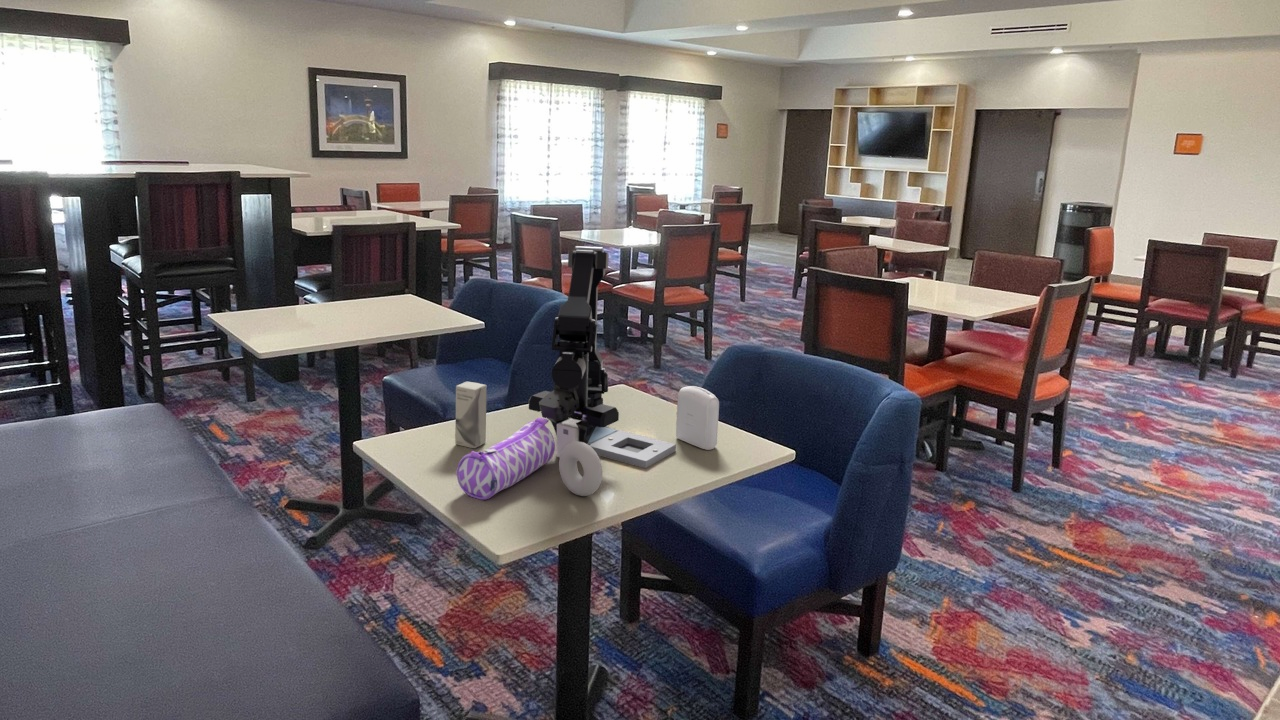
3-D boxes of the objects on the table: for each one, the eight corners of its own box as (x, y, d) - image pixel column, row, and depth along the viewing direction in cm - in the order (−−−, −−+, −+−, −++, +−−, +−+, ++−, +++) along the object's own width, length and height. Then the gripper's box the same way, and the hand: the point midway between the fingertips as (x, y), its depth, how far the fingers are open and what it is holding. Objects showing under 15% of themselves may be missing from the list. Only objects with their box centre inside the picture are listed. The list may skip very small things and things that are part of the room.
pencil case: (494, 508, 143) (493, 457, 141) (450, 497, 147) (449, 447, 145) (558, 466, 163) (559, 421, 161) (518, 457, 167) (518, 413, 164)
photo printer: (672, 437, 181) (675, 383, 178) (687, 434, 184) (690, 380, 181) (704, 452, 173) (708, 395, 170) (719, 448, 176) (723, 392, 173)
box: (454, 445, 171) (453, 385, 168) (466, 438, 175) (465, 380, 172) (476, 449, 170) (475, 389, 166) (487, 442, 174) (487, 384, 170)
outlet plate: (588, 452, 170) (588, 444, 170) (619, 436, 180) (620, 429, 180) (645, 468, 163) (646, 460, 163) (675, 451, 173) (676, 443, 173)
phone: (568, 441, 176) (568, 437, 176) (597, 428, 185) (597, 424, 185) (591, 447, 173) (591, 443, 173) (619, 433, 182) (620, 430, 182)
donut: (605, 500, 148) (607, 447, 145) (591, 505, 146) (593, 452, 143) (568, 483, 155) (569, 433, 152) (554, 488, 152) (555, 437, 150)
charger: (556, 456, 168) (556, 423, 166) (569, 450, 171) (570, 418, 170) (574, 461, 165) (574, 428, 164) (587, 455, 169) (588, 422, 167)
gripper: (510, 374, 162) (510, 449, 166) (588, 392, 153) (586, 471, 157) (546, 363, 171) (545, 434, 175) (621, 379, 162) (618, 454, 166)
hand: (572, 448), depth 168 cm, fingers closed on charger, 4 cm apart
